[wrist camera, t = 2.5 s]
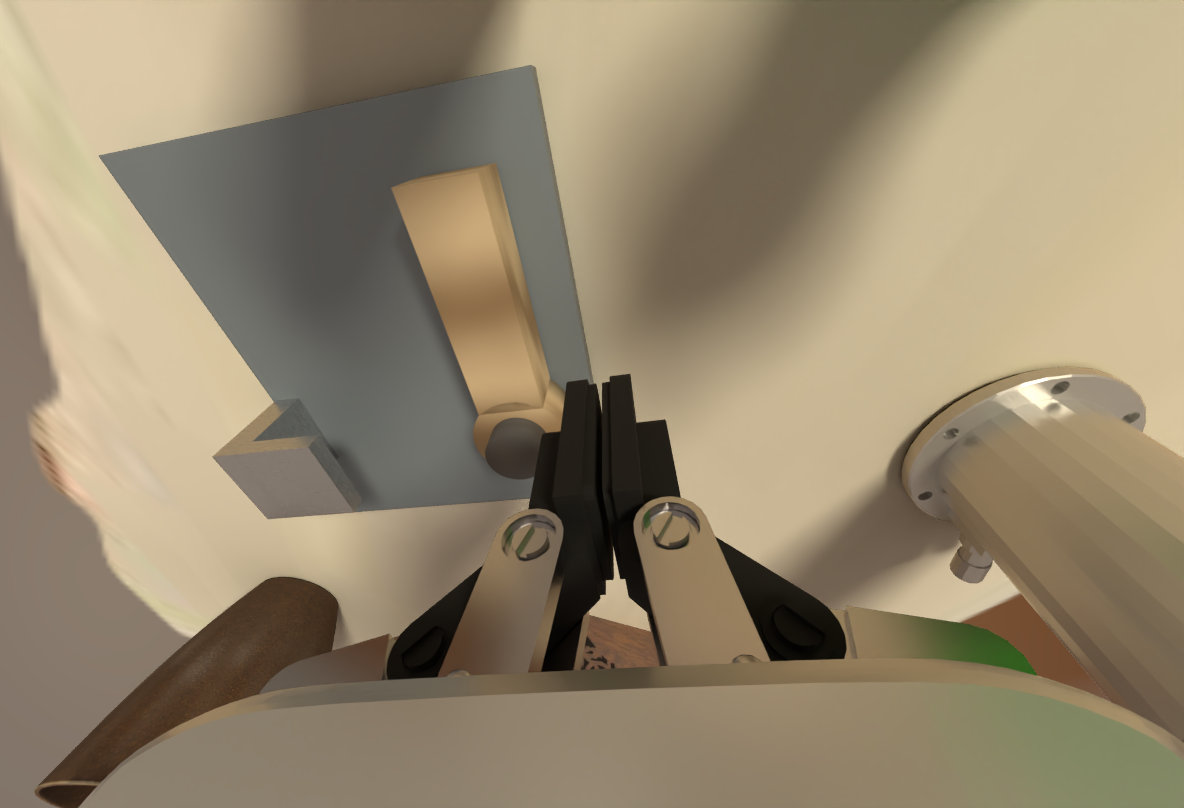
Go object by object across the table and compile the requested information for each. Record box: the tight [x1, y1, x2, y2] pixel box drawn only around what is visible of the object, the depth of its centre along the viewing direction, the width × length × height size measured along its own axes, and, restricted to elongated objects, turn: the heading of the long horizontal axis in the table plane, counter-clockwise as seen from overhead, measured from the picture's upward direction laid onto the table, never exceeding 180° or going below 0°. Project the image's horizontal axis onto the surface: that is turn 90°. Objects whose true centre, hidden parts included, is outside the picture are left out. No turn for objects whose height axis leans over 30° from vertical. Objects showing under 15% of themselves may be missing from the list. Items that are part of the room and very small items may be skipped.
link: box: [391, 163, 565, 480], centre depth 21 cm, size 16×5×4 cm, turn 9°
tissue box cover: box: [581, 615, 659, 670], centre depth 44 cm, size 26×14×10 cm, turn 67°
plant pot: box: [35, 577, 338, 808], centre depth 36 cm, size 15×15×16 cm
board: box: [99, 65, 594, 512], centre depth 25 cm, size 24×20×1 cm
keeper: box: [213, 398, 362, 519], centre depth 26 cm, size 5×6×6 cm
